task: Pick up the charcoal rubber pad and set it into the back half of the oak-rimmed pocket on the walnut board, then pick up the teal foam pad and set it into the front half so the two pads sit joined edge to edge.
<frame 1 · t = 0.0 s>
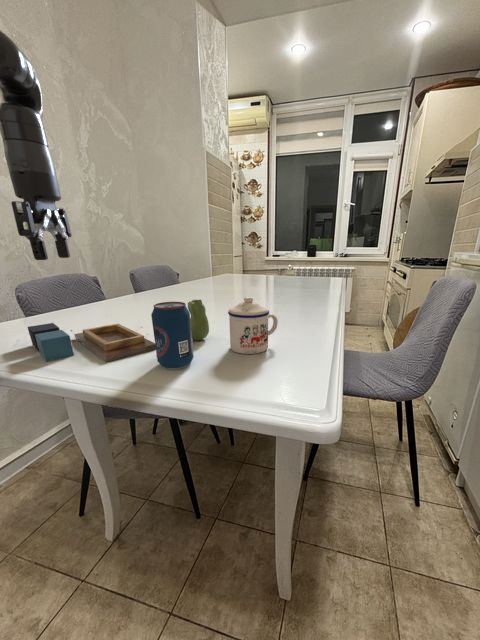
hand: (53, 258, 63), 20 cm above the table, tool pointing down, fingers open, 8 cm apart
pad frame: (114, 343, 70), on the table
teacup with lid: (254, 347, 67), on the table
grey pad: (48, 345, 68), on the table
soda can: (176, 364, 58), on the table
teal pad: (57, 354, 63), on the table
pear: (198, 340, 73), on the table
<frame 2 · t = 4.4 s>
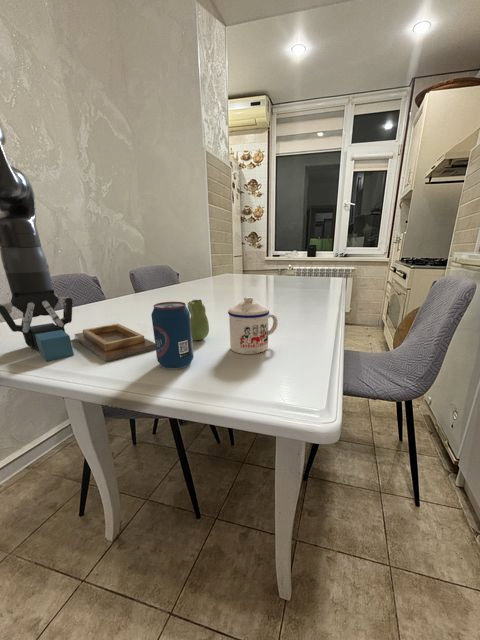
hand: (47, 343, 68), 0 cm above the table, tool pointing down, fingers closed on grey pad, 5 cm apart
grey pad: (48, 345, 68), on the table, touching gripper
everything else where it was.
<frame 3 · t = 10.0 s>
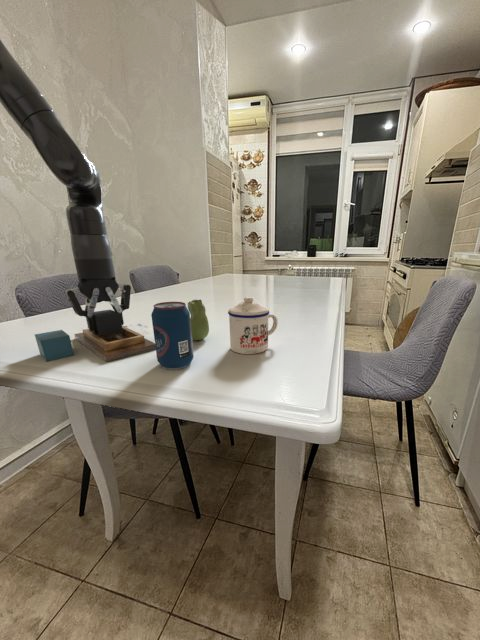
hand: (107, 329, 71), 3 cm above the table, tool pointing down, fingers closed on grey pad, 5 cm apart
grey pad: (107, 330, 71), point 3 cm above the table, touching gripper
everything else where it was.
when the fingers open (4 cm above the table, at t = 17.6 s): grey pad drops 2 cm, resting on pad frame.
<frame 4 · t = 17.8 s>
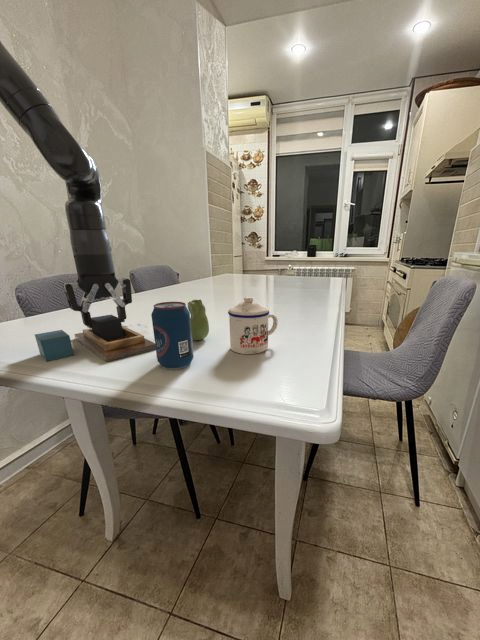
hand: (106, 324, 70), 4 cm above the table, tool pointing down, fingers open, 6 cm apart
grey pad: (108, 336, 71), point 1 cm above the table, touching pad frame
everything else where it was.
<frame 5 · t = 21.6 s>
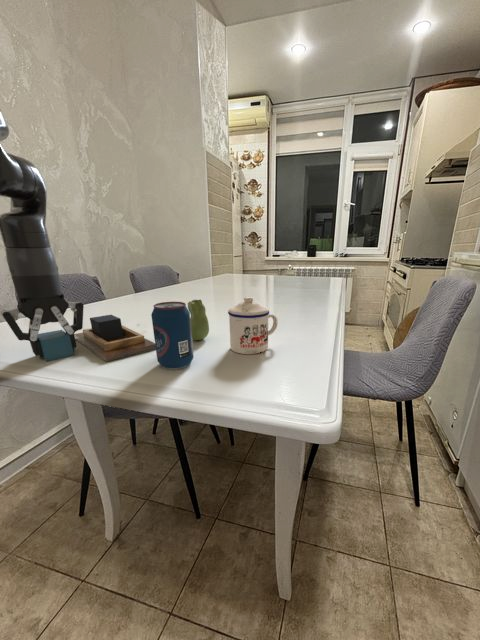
hand: (56, 352, 63), 0 cm above the table, tool pointing down, fingers closed on teal pad, 5 cm apart
teal pad: (57, 354, 63), on the table, touching gripper
everything else where it was.
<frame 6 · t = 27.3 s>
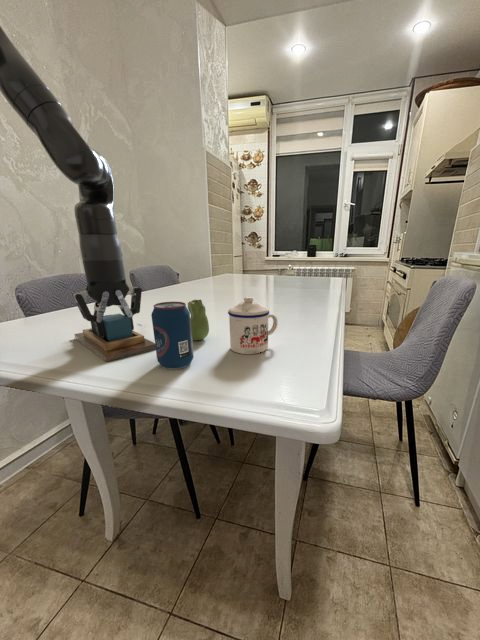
hand: (116, 334, 67), 3 cm above the table, tool pointing down, fingers closed on teal pad, 5 cm apart
teal pad: (117, 336, 67), point 2 cm above the table, touching gripper
everything else where it was.
when the fingers open (3 cm above the table, at t = 34.9 s): teal pad drops 2 cm, resting on pad frame.
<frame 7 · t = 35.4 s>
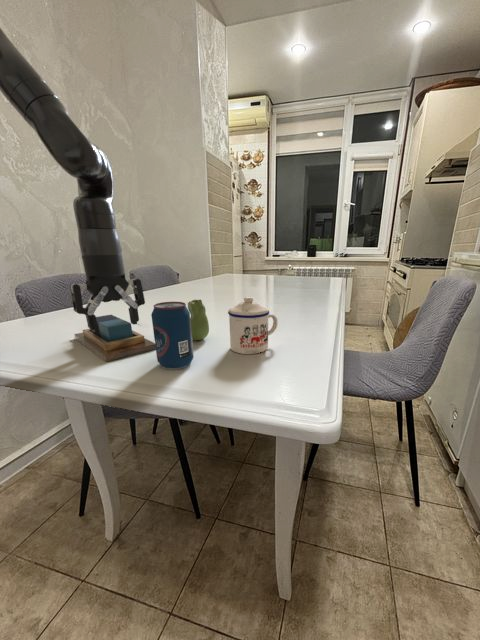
hand: (115, 327, 66), 5 cm above the table, tool pointing down, fingers open, 8 cm apart
teal pad: (117, 341, 67), point 1 cm above the table, touching pad frame
everything else where it was.
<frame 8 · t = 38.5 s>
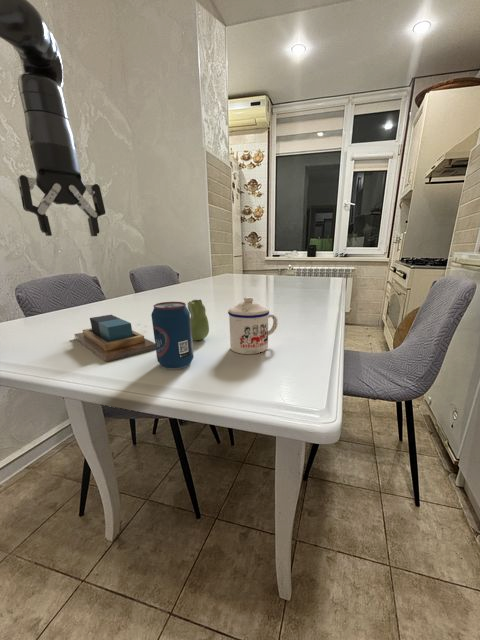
hand: (72, 236, 62), 24 cm above the table, tool pointing down, fingers open, 8 cm apart
nothing on the table moved.
at the end: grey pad 0.6 cm from the target spot on the pad frame, point 1.2 cm above the pad frame's base; teal pad 0.5 cm from the target spot on the pad frame, point 1.2 cm above the pad frame's base; teal pad 6.0 cm from the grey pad (horizontally) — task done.
